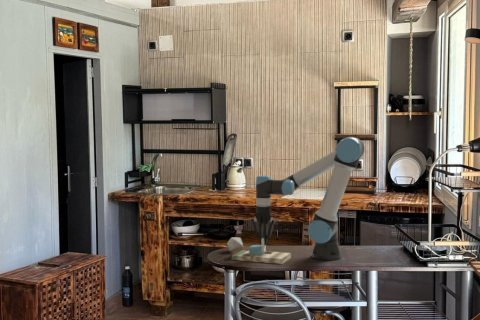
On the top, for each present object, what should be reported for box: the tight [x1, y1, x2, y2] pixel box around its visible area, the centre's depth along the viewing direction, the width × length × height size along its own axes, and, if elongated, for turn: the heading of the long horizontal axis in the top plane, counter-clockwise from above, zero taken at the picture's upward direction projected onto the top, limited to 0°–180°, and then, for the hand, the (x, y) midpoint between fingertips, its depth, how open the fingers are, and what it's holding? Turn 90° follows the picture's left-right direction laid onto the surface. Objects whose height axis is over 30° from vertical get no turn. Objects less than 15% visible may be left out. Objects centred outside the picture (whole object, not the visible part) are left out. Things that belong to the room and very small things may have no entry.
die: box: [226, 236, 244, 252], centre depth 297 cm, size 8×9×10 cm
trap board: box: [229, 244, 292, 265], centre depth 279 cm, size 28×14×5 cm, turn 68°
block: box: [248, 244, 264, 255], centre depth 280 cm, size 6×6×4 cm
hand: (263, 251), depth 278 cm, fingers closed
